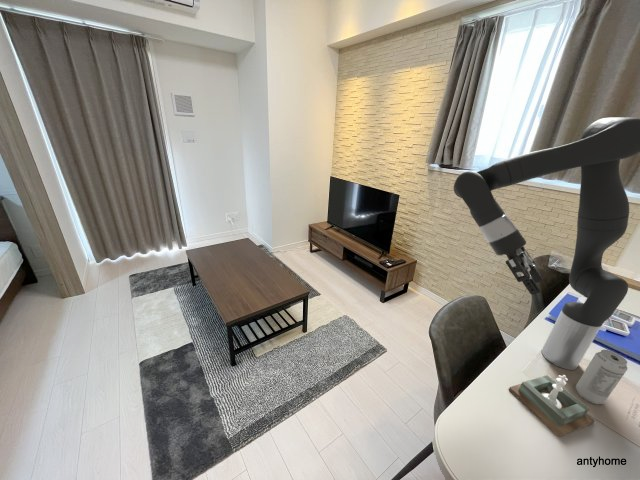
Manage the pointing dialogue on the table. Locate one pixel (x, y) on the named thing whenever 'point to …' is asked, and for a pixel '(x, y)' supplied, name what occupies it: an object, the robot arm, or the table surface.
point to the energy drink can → (601, 376)
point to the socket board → (546, 420)
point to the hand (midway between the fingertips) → (537, 287)
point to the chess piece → (556, 391)
